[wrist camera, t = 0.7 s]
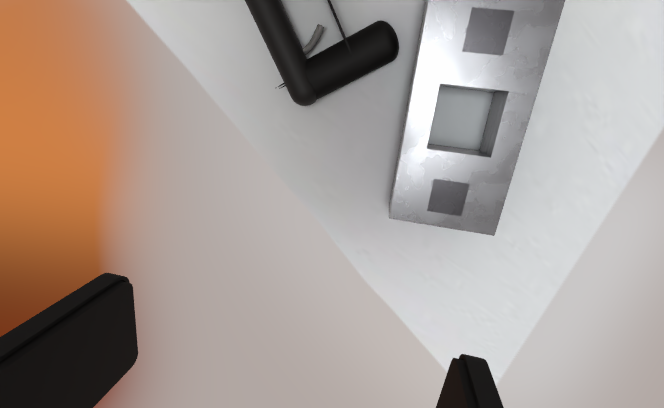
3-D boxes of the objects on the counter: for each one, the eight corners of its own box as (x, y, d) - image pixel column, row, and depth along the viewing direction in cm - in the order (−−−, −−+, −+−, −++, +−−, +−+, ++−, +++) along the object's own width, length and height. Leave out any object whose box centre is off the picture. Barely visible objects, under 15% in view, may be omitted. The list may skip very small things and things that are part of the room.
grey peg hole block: (426, -2, 30) (431, -17, 26) (543, 7, 28) (567, -7, 24) (389, 205, 36) (388, 218, 32) (483, 220, 35) (494, 236, 31)
